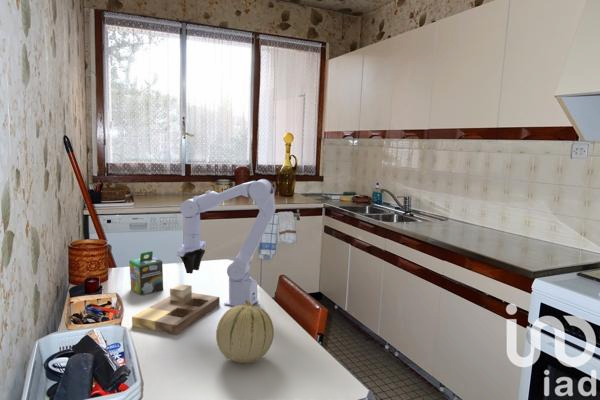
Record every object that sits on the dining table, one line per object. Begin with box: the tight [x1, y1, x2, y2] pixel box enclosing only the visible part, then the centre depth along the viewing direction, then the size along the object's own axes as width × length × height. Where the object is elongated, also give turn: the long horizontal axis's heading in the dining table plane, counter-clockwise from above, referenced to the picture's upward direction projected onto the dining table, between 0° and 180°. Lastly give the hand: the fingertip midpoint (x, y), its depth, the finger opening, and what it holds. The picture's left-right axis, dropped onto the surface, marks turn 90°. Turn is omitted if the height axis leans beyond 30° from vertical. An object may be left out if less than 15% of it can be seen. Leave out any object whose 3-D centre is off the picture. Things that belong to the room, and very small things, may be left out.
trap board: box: [131, 292, 221, 336], centre depth 137 cm, size 16×24×3 cm, turn 160°
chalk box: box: [128, 251, 164, 296], centre depth 159 cm, size 9×9×15 cm
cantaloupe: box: [215, 301, 275, 364], centre depth 109 cm, size 15×15×15 cm
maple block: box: [169, 283, 193, 302], centre depth 143 cm, size 5×5×4 cm
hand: (192, 271), depth 149 cm, fingers open, 3 cm apart
